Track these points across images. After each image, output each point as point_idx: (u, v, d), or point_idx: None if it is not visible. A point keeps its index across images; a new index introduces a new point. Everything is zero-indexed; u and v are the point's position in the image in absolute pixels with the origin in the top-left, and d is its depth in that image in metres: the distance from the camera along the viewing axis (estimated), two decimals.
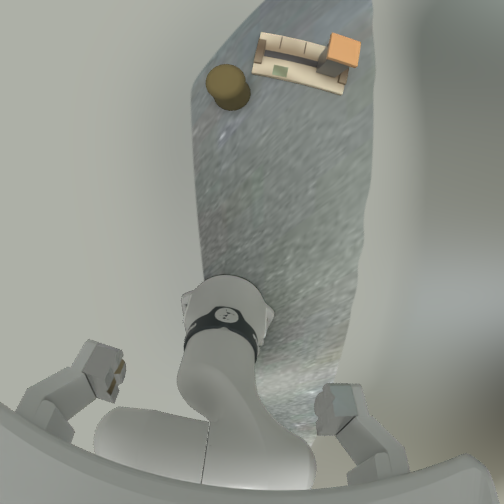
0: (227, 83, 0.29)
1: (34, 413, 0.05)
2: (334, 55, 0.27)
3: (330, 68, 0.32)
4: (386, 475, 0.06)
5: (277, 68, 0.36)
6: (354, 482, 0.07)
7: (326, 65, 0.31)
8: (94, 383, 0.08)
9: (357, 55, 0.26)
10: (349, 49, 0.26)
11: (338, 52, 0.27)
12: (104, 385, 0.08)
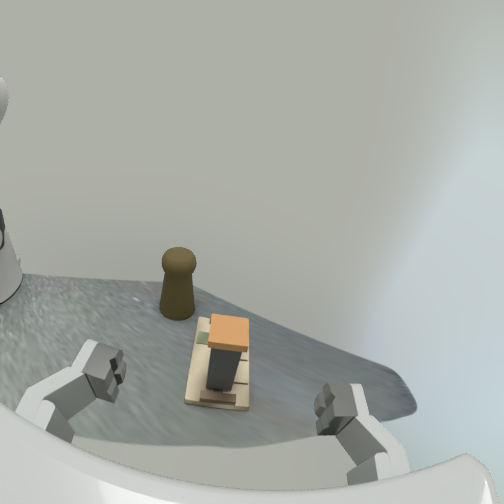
0: (175, 253, 0.39)
1: (34, 413, 0.05)
2: (215, 319, 0.29)
3: (209, 357, 0.31)
4: (386, 475, 0.06)
5: (205, 335, 0.39)
6: (354, 482, 0.07)
7: None
8: (94, 383, 0.08)
9: (225, 342, 0.26)
10: (230, 333, 0.27)
11: (221, 323, 0.28)
12: (104, 385, 0.08)
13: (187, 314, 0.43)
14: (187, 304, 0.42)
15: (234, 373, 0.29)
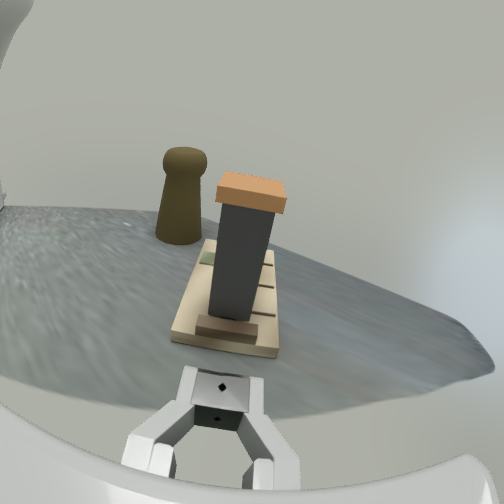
0: (181, 148, 0.29)
1: (148, 461, 0.05)
2: (232, 174, 0.18)
3: None
4: (265, 486, 0.05)
5: (213, 256, 0.29)
6: (244, 486, 0.06)
7: None
8: (202, 412, 0.08)
9: (246, 189, 0.16)
10: (256, 185, 0.17)
11: (241, 177, 0.18)
12: (215, 413, 0.08)
13: (190, 237, 0.33)
14: (192, 222, 0.32)
15: (257, 275, 0.19)
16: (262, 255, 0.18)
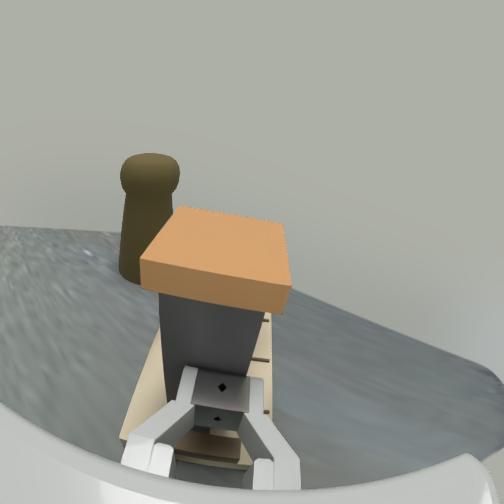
0: (143, 155, 0.20)
1: (148, 461, 0.05)
2: (187, 215, 0.10)
3: None
4: (265, 486, 0.05)
5: None
6: (244, 486, 0.06)
7: None
8: (202, 412, 0.08)
9: (202, 266, 0.07)
10: (227, 247, 0.08)
11: (202, 223, 0.09)
12: (215, 413, 0.08)
13: None
14: None
15: None
16: (243, 367, 0.09)
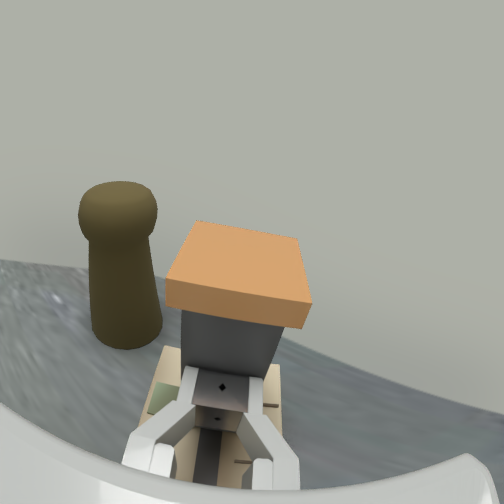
0: (106, 187, 0.14)
1: (149, 461, 0.05)
2: (205, 230, 0.10)
3: None
4: (264, 486, 0.05)
5: (173, 394, 0.14)
6: (243, 486, 0.06)
7: None
8: (203, 412, 0.08)
9: (227, 285, 0.07)
10: (248, 265, 0.08)
11: (221, 239, 0.10)
12: (216, 413, 0.08)
13: (141, 338, 0.18)
14: (139, 316, 0.17)
15: None
16: (260, 376, 0.10)
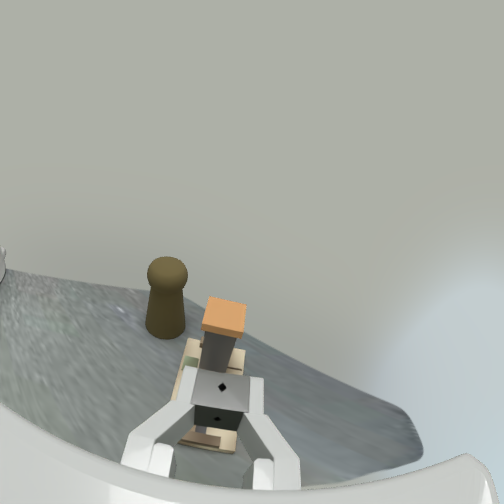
0: (163, 265, 0.32)
1: (148, 461, 0.05)
2: (212, 302, 0.28)
3: None
4: (265, 486, 0.05)
5: (193, 361, 0.33)
6: (244, 486, 0.06)
7: None
8: (202, 412, 0.08)
9: (219, 325, 0.26)
10: (226, 318, 0.27)
11: (218, 306, 0.28)
12: (215, 413, 0.08)
13: (175, 333, 0.36)
14: (176, 323, 0.36)
15: (227, 360, 0.29)
16: (230, 352, 0.28)
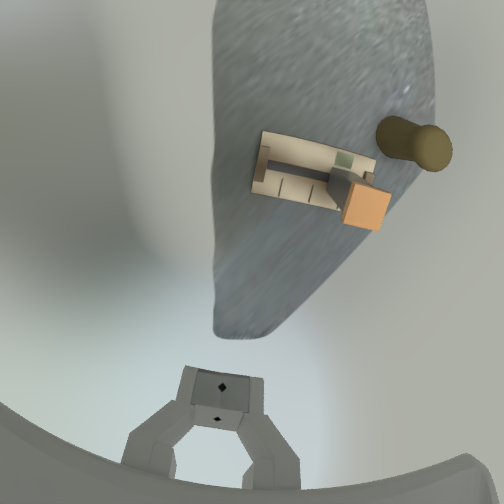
0: (437, 145, 0.21)
1: (148, 461, 0.05)
2: (383, 197, 0.24)
3: (356, 178, 0.29)
4: (265, 486, 0.05)
5: (347, 163, 0.32)
6: (244, 486, 0.06)
7: (364, 181, 0.28)
8: (202, 412, 0.08)
9: (352, 200, 0.24)
10: (362, 208, 0.24)
11: (377, 202, 0.24)
12: (215, 413, 0.08)
13: (381, 147, 0.31)
14: (389, 150, 0.30)
15: (334, 199, 0.30)
16: (337, 204, 0.28)
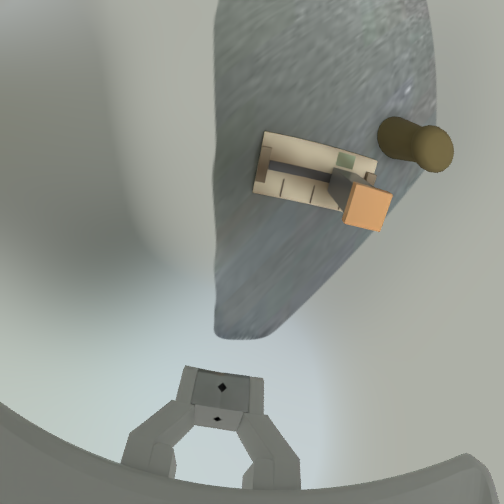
0: (439, 145, 0.21)
1: (148, 461, 0.05)
2: (384, 197, 0.24)
3: (357, 178, 0.29)
4: (265, 486, 0.05)
5: (348, 164, 0.32)
6: (244, 486, 0.06)
7: (365, 182, 0.28)
8: (202, 412, 0.08)
9: (353, 201, 0.24)
10: (363, 209, 0.24)
11: (378, 202, 0.24)
12: (215, 413, 0.08)
13: (383, 148, 0.31)
14: (391, 150, 0.30)
15: (335, 199, 0.30)
16: (339, 204, 0.28)
